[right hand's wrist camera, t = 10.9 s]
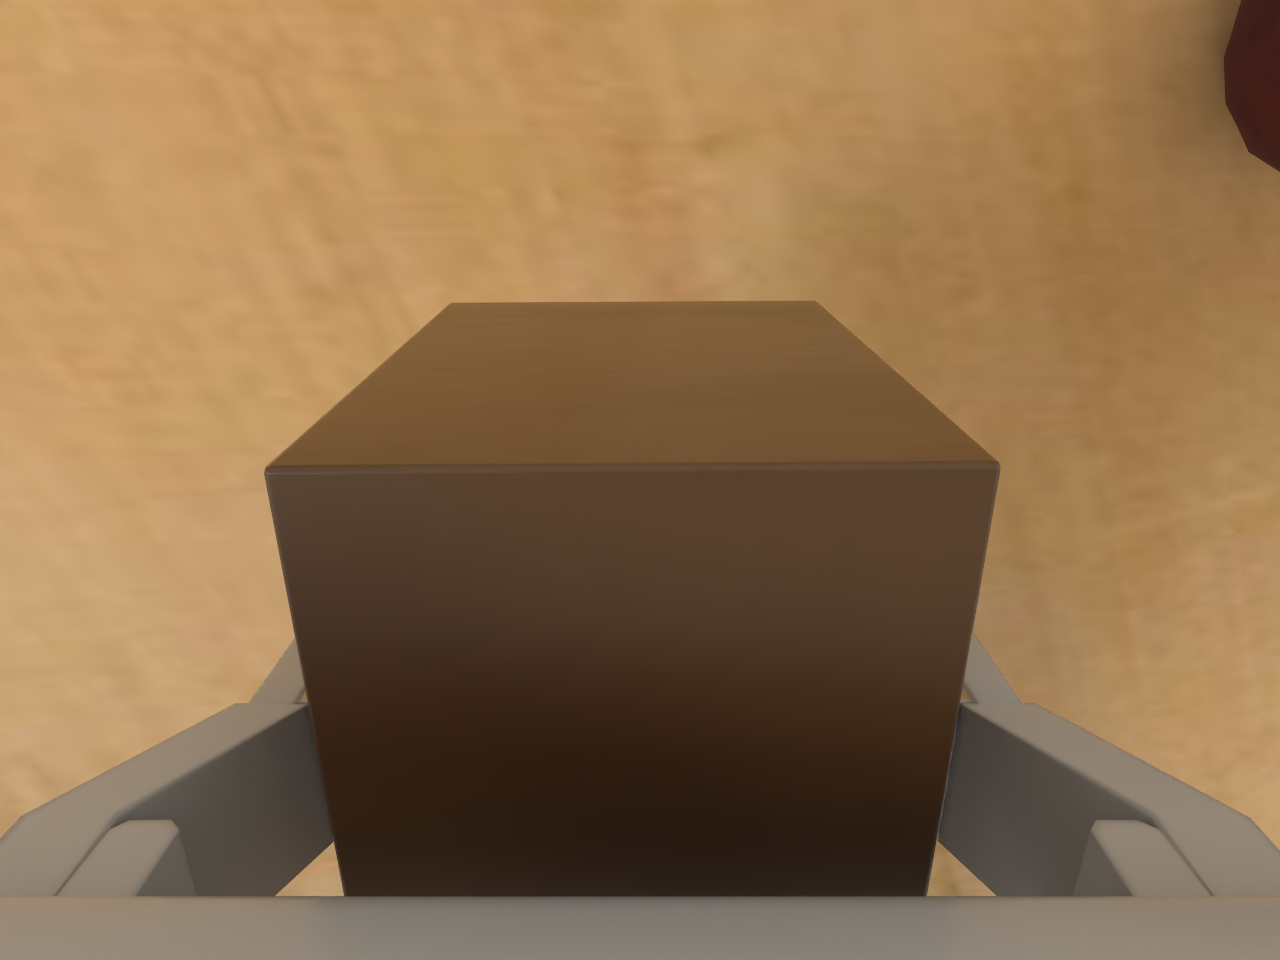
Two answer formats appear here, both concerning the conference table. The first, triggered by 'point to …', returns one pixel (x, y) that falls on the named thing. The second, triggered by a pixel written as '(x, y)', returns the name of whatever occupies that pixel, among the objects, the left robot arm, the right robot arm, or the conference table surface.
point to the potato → (1256, 77)
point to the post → (633, 605)
